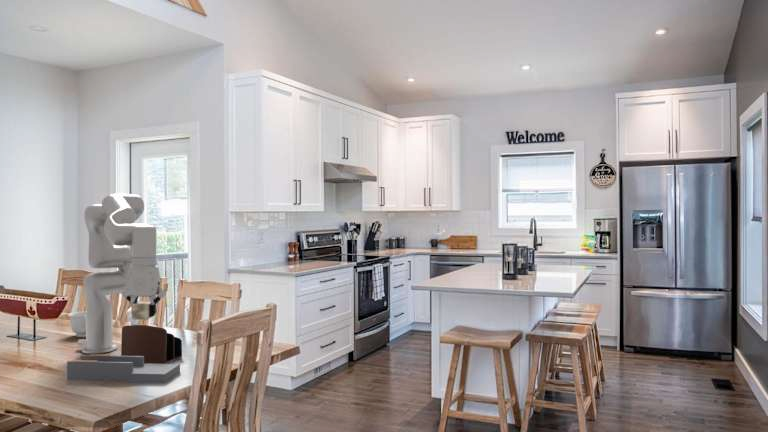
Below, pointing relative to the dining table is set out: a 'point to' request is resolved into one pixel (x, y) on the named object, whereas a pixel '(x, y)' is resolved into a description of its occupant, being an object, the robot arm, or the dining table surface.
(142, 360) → the grey stepped platform
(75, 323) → the teacup
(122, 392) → the dining table surface
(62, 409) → the dining table surface
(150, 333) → the letter holder
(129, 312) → the light bulb
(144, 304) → the birch block
